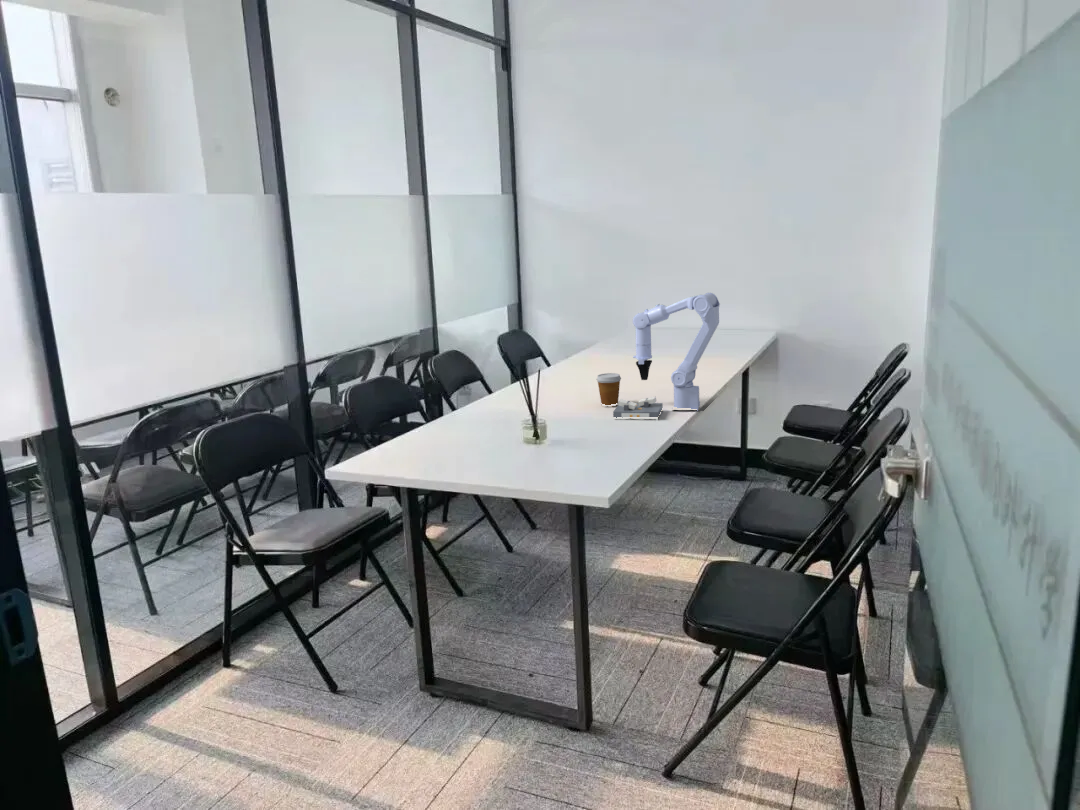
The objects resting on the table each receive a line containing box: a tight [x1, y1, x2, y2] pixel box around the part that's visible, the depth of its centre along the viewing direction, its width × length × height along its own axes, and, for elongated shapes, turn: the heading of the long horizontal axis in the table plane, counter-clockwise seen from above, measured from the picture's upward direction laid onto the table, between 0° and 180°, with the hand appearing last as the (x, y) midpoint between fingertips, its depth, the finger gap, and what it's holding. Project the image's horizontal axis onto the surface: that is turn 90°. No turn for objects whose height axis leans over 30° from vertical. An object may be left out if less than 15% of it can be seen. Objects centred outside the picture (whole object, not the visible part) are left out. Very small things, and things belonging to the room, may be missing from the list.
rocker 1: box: [618, 398, 638, 410], centre depth 286 cm, size 6×4×2 cm, turn 74°
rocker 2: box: [637, 396, 657, 406], centre depth 289 cm, size 6×4×2 cm, turn 74°
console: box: [612, 402, 664, 418], centre depth 288 cm, size 16×14×5 cm
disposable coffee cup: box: [596, 372, 622, 405], centre depth 305 cm, size 10×10×12 cm
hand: (644, 379), depth 299 cm, fingers closed
